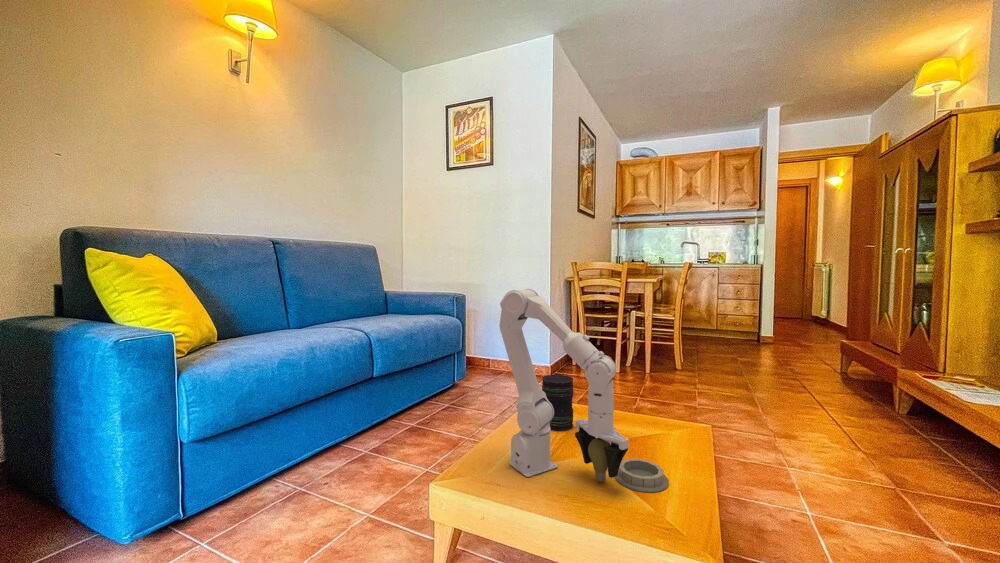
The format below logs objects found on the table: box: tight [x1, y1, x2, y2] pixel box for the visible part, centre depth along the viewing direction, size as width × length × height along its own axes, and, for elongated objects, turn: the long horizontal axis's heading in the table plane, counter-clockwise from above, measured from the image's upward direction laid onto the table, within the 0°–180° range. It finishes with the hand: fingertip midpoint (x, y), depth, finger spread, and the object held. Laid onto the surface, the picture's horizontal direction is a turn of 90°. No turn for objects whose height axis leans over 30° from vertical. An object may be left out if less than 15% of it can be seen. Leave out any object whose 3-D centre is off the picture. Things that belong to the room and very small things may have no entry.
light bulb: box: [588, 437, 611, 483], centre depth 92 cm, size 6×6×10 cm
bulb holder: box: [614, 458, 670, 494], centre depth 93 cm, size 12×12×2 cm
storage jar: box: [541, 374, 574, 432], centre depth 126 cm, size 10×10×15 cm
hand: (600, 469), depth 92 cm, fingers open, 7 cm apart
